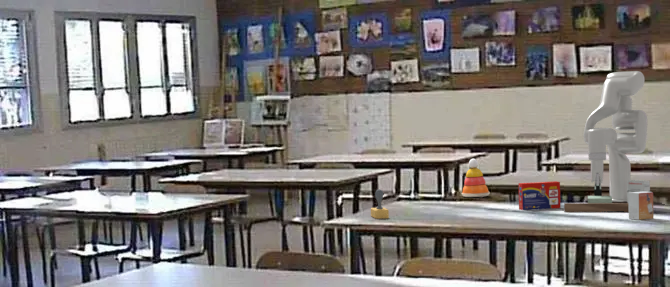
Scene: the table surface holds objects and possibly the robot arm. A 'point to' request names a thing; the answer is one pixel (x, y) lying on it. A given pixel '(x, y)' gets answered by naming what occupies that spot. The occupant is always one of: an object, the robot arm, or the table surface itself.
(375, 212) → the rubber stamp
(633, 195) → the small box
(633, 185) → the ink box
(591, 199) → the green block
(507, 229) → the table surface
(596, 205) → the walnut board
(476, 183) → the stacking toy
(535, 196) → the toy box
